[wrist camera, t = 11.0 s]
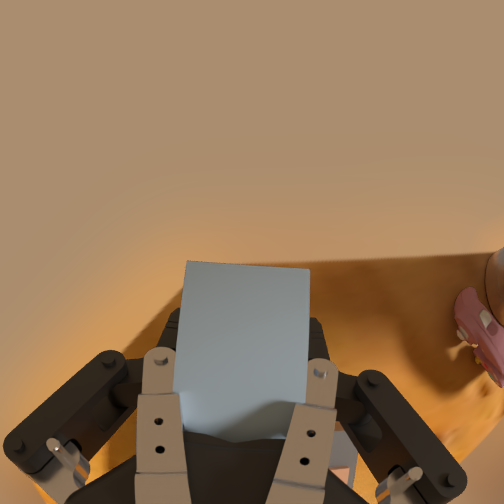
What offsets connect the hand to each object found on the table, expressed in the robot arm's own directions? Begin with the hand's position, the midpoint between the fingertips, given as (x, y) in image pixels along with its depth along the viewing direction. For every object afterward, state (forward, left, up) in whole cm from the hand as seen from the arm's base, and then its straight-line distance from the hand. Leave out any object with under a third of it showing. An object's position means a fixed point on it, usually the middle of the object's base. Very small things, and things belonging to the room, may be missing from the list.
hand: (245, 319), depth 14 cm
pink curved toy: (-22, +1, -9) cm, 24 cm away
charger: (0, +2, -4) cm, 4 cm away
